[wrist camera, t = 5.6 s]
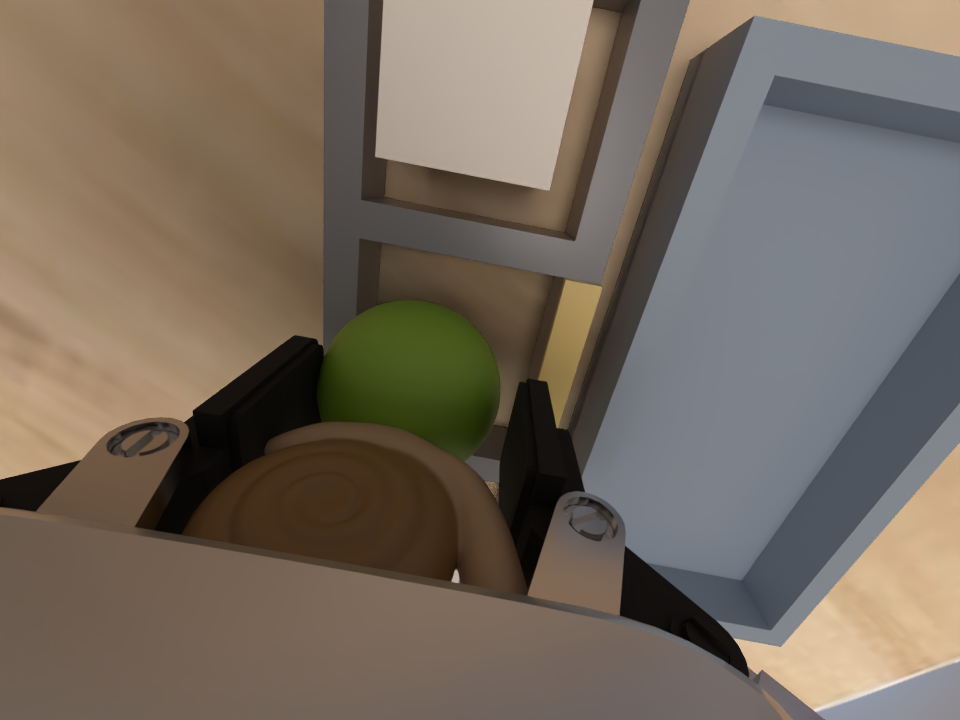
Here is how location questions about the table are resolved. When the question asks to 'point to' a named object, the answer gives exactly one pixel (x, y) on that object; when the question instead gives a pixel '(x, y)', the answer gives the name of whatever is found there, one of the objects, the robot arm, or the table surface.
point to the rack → (567, 256)
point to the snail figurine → (383, 458)
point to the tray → (782, 321)
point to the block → (479, 85)
